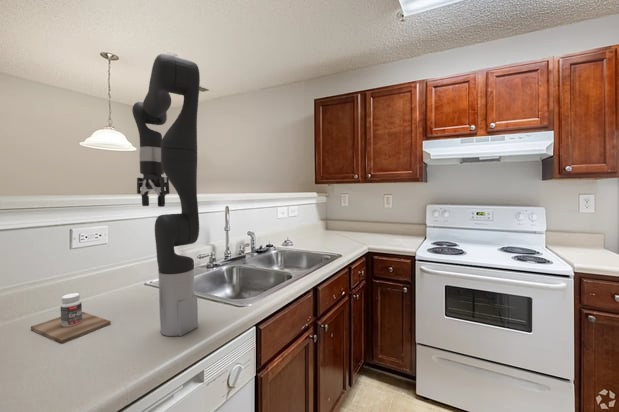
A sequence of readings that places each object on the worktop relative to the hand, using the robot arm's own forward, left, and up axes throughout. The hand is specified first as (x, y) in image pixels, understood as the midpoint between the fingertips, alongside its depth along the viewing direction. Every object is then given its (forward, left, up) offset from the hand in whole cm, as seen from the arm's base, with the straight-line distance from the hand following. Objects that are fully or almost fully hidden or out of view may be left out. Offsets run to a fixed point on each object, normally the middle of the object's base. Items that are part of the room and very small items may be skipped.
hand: (153, 206), depth 103 cm
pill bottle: (+3, +25, -33) cm, 42 cm away
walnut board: (+3, +25, -34) cm, 42 cm away
